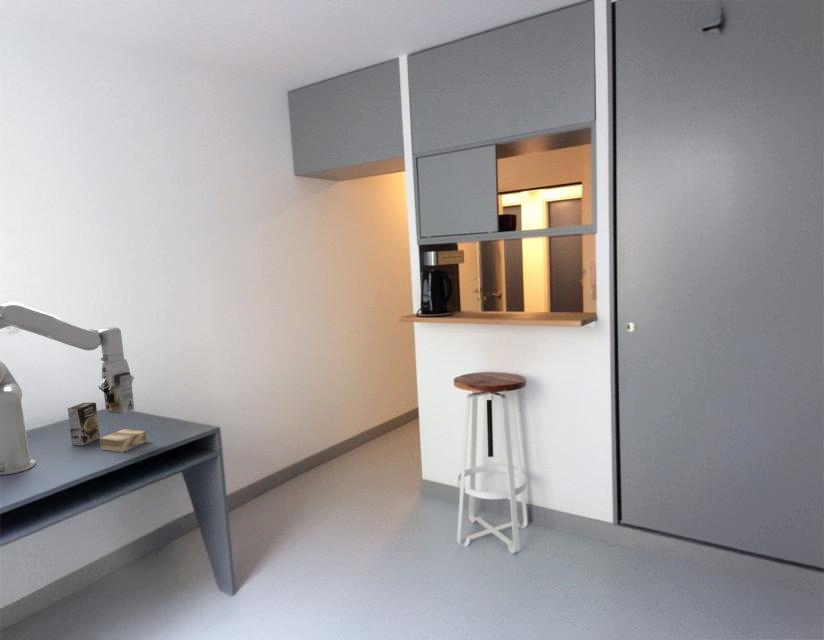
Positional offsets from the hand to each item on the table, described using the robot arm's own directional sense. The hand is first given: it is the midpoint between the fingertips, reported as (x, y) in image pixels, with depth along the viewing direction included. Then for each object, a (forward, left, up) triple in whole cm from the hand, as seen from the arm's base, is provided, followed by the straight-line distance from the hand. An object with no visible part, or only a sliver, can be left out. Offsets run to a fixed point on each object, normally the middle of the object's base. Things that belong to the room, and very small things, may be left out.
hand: (118, 399), depth 219 cm
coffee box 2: (0, 0, -5) cm, 5 cm away
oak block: (0, 0, -20) cm, 20 cm away
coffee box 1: (-1, +21, -20) cm, 29 cm away
